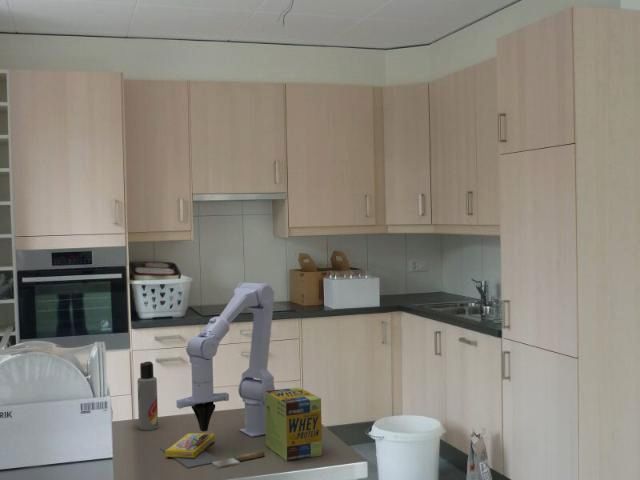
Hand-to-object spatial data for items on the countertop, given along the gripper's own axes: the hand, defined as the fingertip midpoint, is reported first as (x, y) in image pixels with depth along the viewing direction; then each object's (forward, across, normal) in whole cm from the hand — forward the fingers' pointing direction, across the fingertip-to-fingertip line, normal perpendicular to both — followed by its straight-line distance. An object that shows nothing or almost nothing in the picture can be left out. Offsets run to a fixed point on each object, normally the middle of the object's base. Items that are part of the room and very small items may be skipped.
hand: (203, 430), depth 215 cm
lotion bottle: (+6, +4, -31) cm, 32 cm away
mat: (+6, +4, 0) cm, 7 cm away
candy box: (+4, -1, -1) cm, 5 cm away
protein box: (+6, -20, +13) cm, 25 cm away
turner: (+6, -4, +12) cm, 15 cm away
